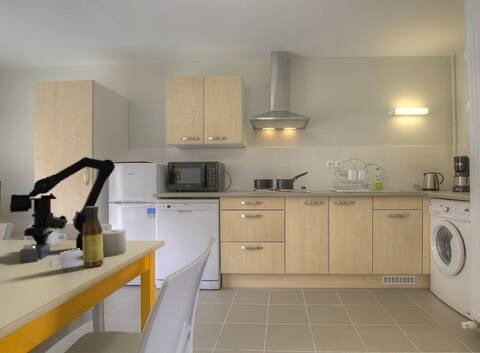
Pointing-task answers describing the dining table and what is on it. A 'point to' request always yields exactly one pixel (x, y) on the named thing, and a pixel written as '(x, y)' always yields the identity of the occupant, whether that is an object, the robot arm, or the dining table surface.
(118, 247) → the toilet tissue
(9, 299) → the dining table surface
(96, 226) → the sauce bottle
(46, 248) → the block
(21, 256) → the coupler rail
